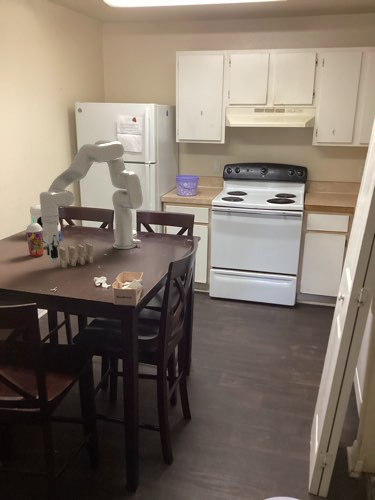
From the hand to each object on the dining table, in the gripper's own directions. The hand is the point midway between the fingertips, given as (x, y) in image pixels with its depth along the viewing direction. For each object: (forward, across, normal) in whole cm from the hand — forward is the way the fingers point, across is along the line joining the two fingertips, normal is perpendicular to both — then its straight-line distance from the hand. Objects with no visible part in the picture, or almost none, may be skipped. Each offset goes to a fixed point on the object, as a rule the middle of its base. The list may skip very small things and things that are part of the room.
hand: (52, 256), depth 205 cm
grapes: (+6, -36, +10) cm, 38 cm away
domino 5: (+6, 0, +18) cm, 19 cm away
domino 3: (+6, 0, +9) cm, 11 cm away
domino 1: (+2, 0, 0) cm, 2 cm away
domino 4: (+6, 0, +14) cm, 15 cm away
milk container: (+6, -61, +14) cm, 63 cm away
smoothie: (+6, -24, -1) cm, 25 cm away
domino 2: (+6, 0, +5) cm, 8 cm away
